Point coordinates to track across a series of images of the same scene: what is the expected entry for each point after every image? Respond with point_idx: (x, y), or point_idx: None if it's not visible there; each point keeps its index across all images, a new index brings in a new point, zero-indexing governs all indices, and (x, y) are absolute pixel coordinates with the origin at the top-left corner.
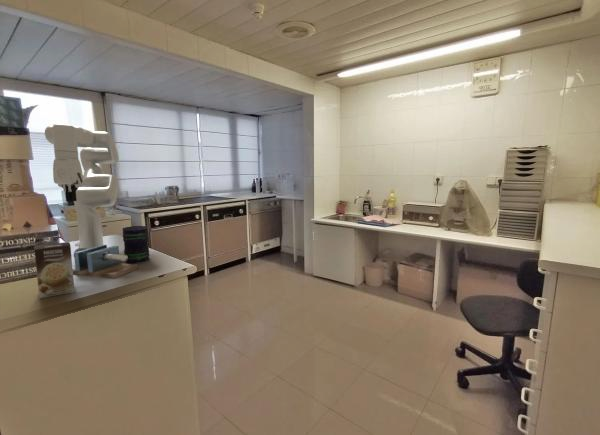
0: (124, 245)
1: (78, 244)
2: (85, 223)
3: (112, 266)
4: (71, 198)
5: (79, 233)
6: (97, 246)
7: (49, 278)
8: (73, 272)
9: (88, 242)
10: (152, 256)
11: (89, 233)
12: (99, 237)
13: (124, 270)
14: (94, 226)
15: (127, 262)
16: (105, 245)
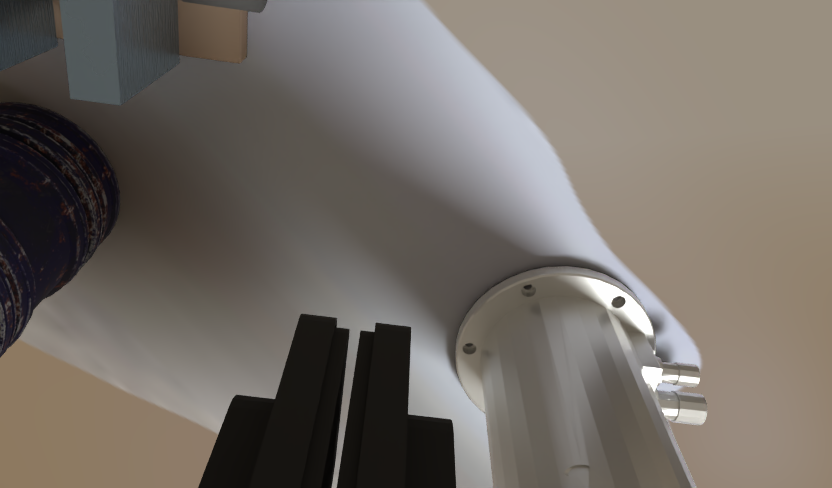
0: (4, 188)
1: (654, 358)
2: (580, 475)
3: None
4: (263, 404)
5: (637, 401)
6: (96, 24)
7: None
8: None
9: (539, 346)
10: None
11: (538, 405)
12: (488, 420)
13: None
14: (512, 479)
15: (36, 109)
16: (69, 84)
